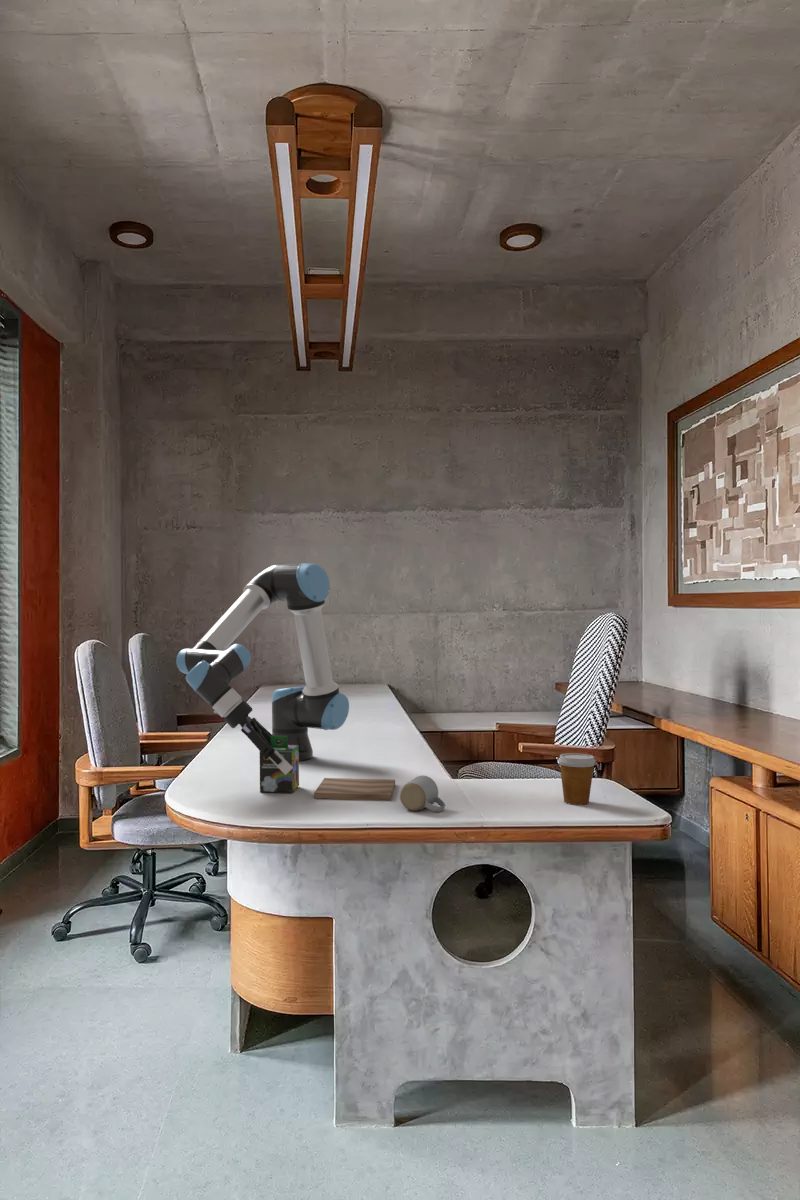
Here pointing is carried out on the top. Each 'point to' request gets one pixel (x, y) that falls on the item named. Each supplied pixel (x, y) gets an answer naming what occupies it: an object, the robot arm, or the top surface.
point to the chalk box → (272, 775)
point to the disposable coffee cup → (576, 777)
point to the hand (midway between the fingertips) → (291, 767)
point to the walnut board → (355, 789)
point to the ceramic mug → (421, 795)
